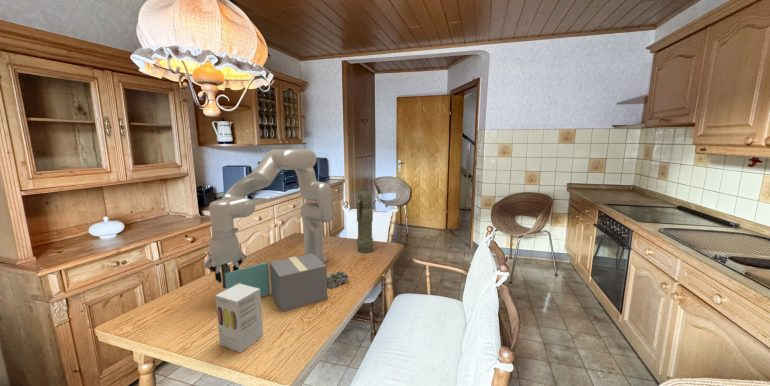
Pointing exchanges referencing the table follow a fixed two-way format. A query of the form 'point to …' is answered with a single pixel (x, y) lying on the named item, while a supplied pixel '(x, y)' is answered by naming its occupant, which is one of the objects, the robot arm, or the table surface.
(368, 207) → the thermos
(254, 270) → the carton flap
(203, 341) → the table surface
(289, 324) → the table surface
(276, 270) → the carton
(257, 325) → the supplement box
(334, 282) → the egg carton
